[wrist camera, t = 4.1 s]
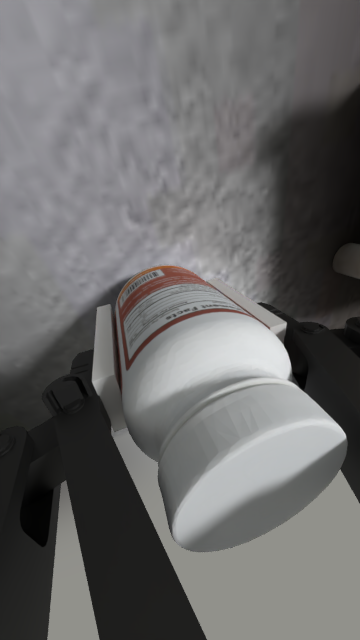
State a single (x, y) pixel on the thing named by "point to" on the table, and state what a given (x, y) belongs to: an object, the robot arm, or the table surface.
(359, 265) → the beige small table
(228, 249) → the table surface
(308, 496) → the pill bottle
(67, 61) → the table surface
